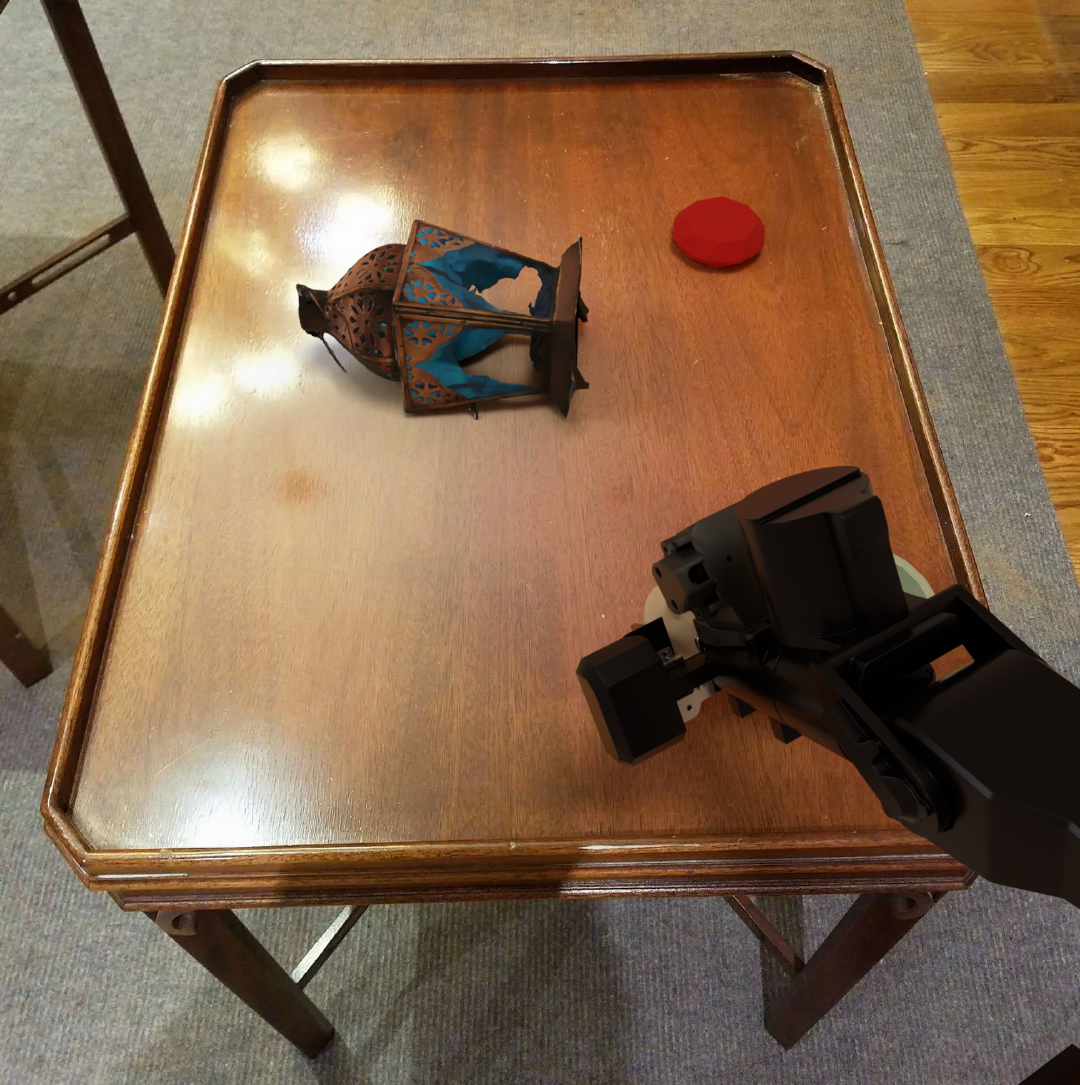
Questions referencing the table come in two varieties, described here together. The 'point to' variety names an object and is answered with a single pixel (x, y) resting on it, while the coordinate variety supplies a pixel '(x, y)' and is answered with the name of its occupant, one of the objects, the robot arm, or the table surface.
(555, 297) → the lantern
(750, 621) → the robot arm
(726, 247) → the gemstone
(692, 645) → the candle
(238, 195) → the table surface
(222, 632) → the table surface
